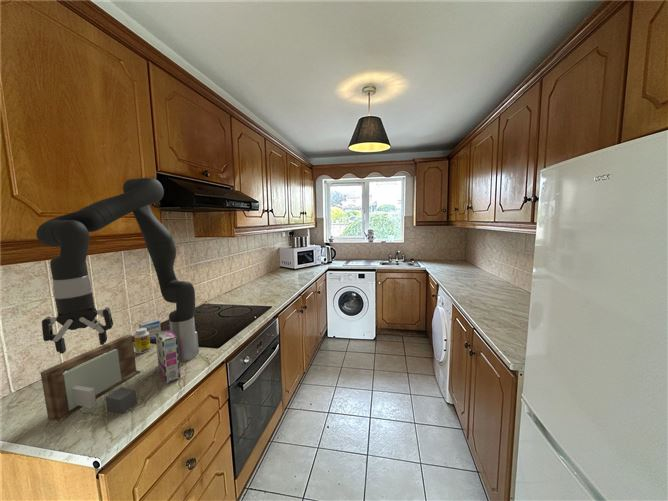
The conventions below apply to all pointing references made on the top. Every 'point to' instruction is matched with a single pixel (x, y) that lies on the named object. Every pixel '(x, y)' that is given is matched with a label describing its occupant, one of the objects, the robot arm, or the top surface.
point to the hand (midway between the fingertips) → (83, 348)
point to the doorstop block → (121, 400)
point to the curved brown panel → (54, 375)
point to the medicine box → (151, 328)
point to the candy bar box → (167, 355)
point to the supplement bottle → (142, 340)
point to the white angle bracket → (91, 379)
